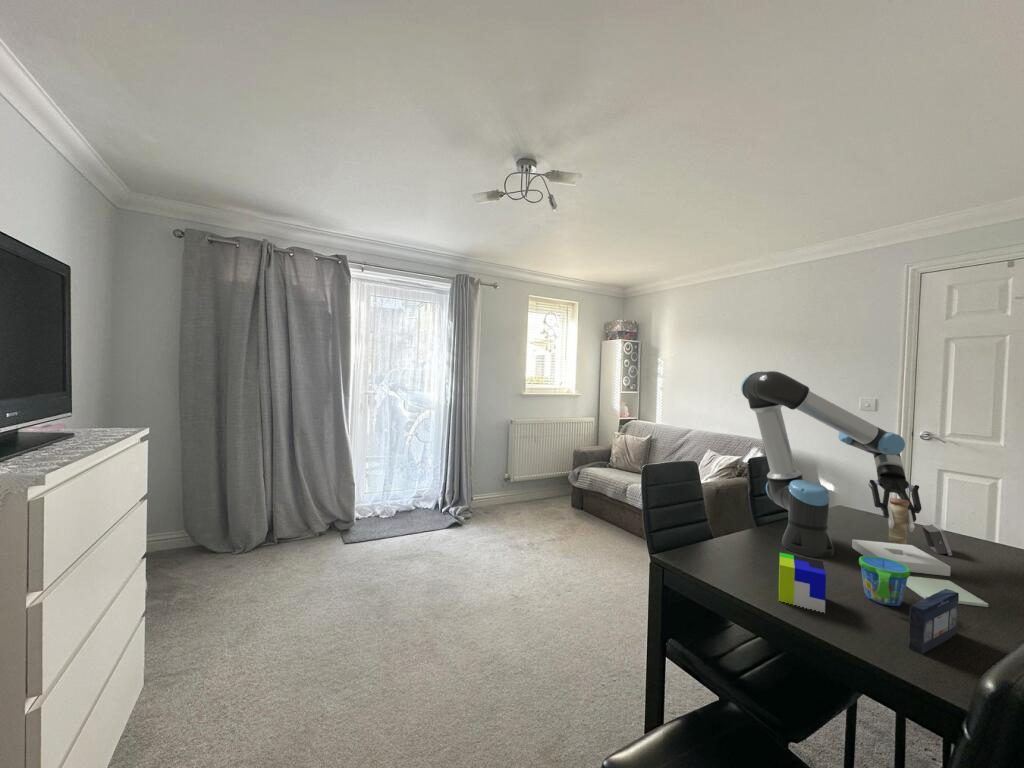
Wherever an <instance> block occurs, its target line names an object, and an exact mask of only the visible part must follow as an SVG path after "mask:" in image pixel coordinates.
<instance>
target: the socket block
mask: <svg viewBox="0 0 1024 768" xmlns="http://www.w3.org/2000/svg"><path fill="white" fill-rule="evenodd" d="M851 541H852V542H851V549H854V550H855V551H856V552H858V553H859V554H861V556H877V557H882V558H887V559H890V560H894V561H897V562H899V563H902V564H904V565H905V566H907V567H908V568H909V569H910V573H918V574H927V575H937V576H945V577H951V566H950V565H949V564H947V563H945V562H943V561H942V560H939V559H938V558H936V557H934V556H932V555H931V554H929V553H927V552H925V551H923V550H922V549H919V548H918V547H916V546H915V545H912V544H899V543H894V542H883V541H874V540H863V539H852V540H851Z"/></svg>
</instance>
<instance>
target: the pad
mask: <svg viewBox="0 0 1024 768" xmlns="http://www.w3.org/2000/svg"><path fill="white" fill-rule="evenodd" d="M907 587H908V589H910V590H911V591H913V592H914V593H915V594H917V595H918V596H920V597H921V598H922V599H925V598H927V597H930V596H931V595H933V594H935V593H938V592H940V591H942V590H944V589H948V590H952V591H954V592H957V593H959V601H958V605H959V604H962V605H968V606H975V607H976V606H978V607H984V608H989V603H987V602H985V601H984V600H982V599H981V598H979V597H978V596H976V595H975V594H972V593H971V592H969V591H967V590H966V589H963V587H961V586H959V585H958V584H955V583H954V582H953V581H952V580H948V579H947V580H946V579H940V578H929V577H921V576H911V575H910V576H909V577H908V578H907V583H906V588H907Z"/></svg>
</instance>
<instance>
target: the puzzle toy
mask: <svg viewBox="0 0 1024 768" xmlns="http://www.w3.org/2000/svg"><path fill="white" fill-rule="evenodd" d="M778 564H779V565H778V567H779V569H778V602H779V601H781V602H780V603H782V602H785V603H784V604H786V603H789V604H788V605H790V604H793V605H792V606H794V605H797V606H796V607H798V606H800V607H799V608H802V607H804V608H803V609H806V608H807V610H810V609H812V610H811V611H814V610H816V611H815V612H818V611H820V612H819V613H822V612H824V613H823V614H826V591H827V589H826V587H827V574H826V570H825V565H824V563H823V560H819V559H814V558H809V557H808V558H807V557H804V556H799V555H794V554H790V553H789V554H788V553H785V552H784V553H783V552H779V562H778Z"/></svg>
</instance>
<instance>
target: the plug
mask: <svg viewBox="0 0 1024 768" xmlns="http://www.w3.org/2000/svg"><path fill="white" fill-rule="evenodd" d="M889 503H890V504H889V505H890V506H889V507H891V510H892V515H893V520H894V526H893V528H889V527H888V541H890V543H895V544H905V545H907V537H908V522H907V520H908V506H909V501H907V500H903V499H901V498H895V497H891V498H890V497H889Z"/></svg>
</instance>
